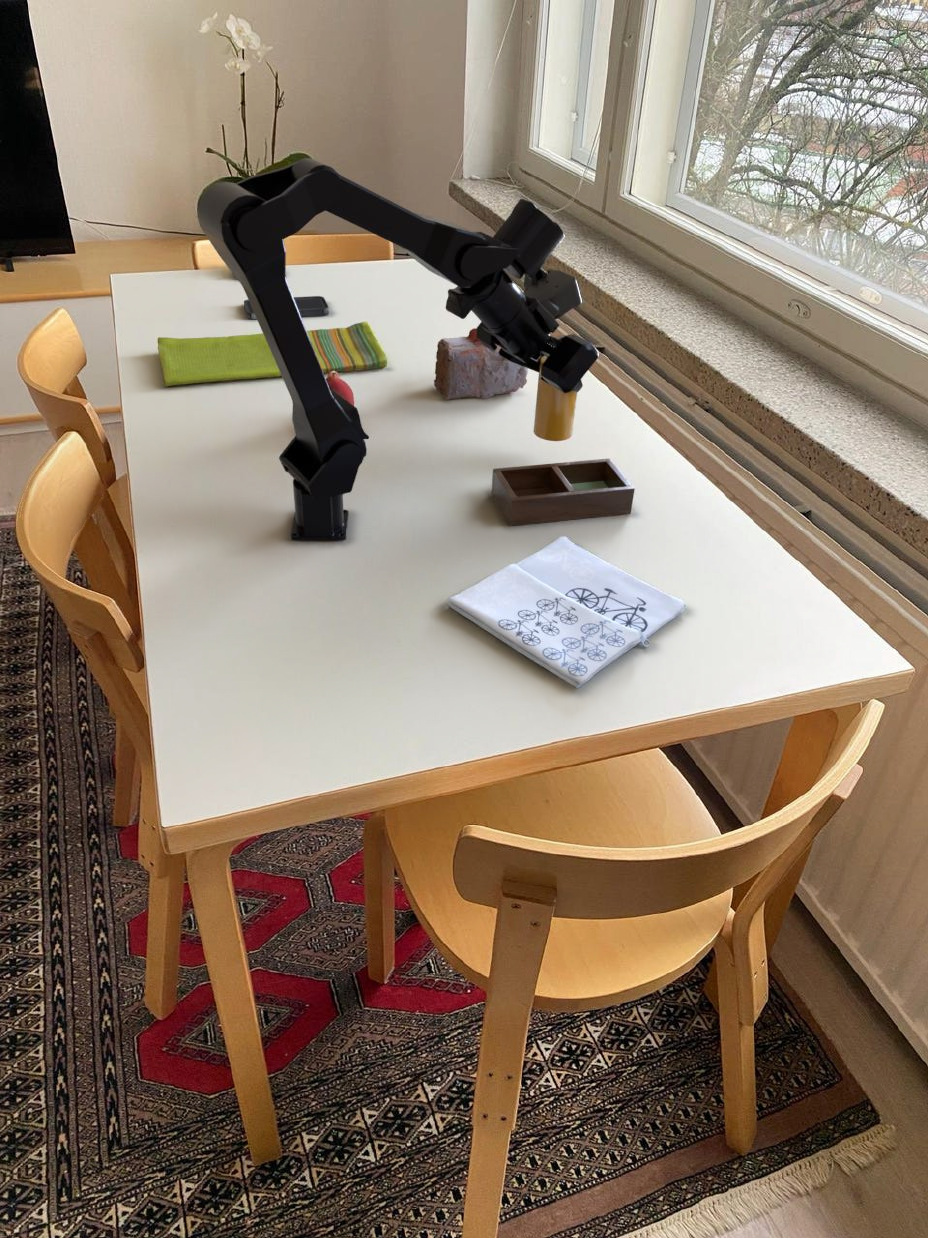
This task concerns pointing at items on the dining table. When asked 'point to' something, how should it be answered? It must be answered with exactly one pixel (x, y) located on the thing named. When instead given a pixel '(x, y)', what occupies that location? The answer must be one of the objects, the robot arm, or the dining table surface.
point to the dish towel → (264, 355)
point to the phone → (299, 306)
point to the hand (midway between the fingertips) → (566, 381)
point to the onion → (340, 386)
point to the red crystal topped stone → (474, 369)
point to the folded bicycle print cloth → (567, 610)
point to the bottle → (553, 410)
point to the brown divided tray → (561, 491)
